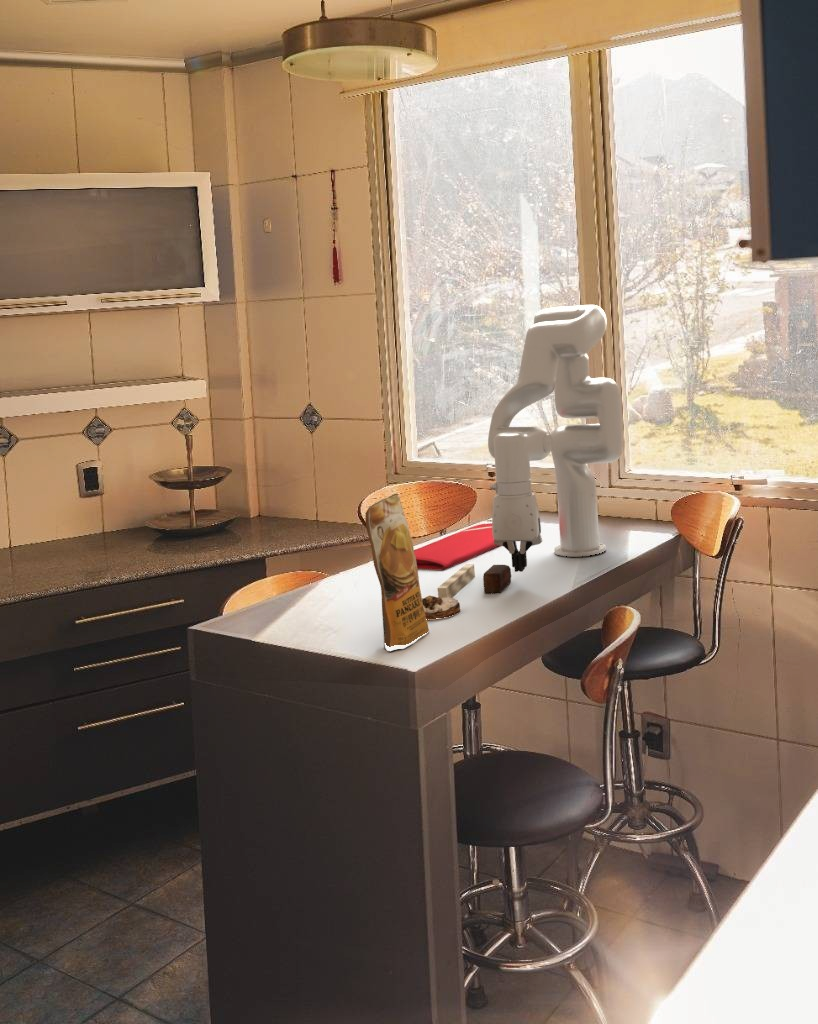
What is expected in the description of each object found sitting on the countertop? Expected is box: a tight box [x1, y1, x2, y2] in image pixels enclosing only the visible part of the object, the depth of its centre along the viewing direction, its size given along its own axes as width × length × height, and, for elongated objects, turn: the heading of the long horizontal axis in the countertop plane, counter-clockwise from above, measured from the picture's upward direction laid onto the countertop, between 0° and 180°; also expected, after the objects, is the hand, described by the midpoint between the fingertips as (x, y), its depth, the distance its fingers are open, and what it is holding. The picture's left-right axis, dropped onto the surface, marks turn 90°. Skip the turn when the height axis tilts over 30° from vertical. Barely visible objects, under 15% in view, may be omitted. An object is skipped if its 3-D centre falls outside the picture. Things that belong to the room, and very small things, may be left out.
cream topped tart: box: [422, 595, 461, 621], centre depth 252 cm, size 15×15×4 cm
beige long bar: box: [437, 563, 476, 598], centre depth 270 cm, size 22×2×3 cm, turn 161°
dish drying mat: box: [414, 523, 499, 571], centre depth 311 cm, size 16×41×4 cm, turn 145°
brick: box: [482, 564, 512, 595], centre depth 268 cm, size 11×4×5 cm, turn 162°
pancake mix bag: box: [364, 493, 430, 647], centre depth 231 cm, size 7×19×28 cm, turn 155°
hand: (519, 570), depth 266 cm, fingers closed
